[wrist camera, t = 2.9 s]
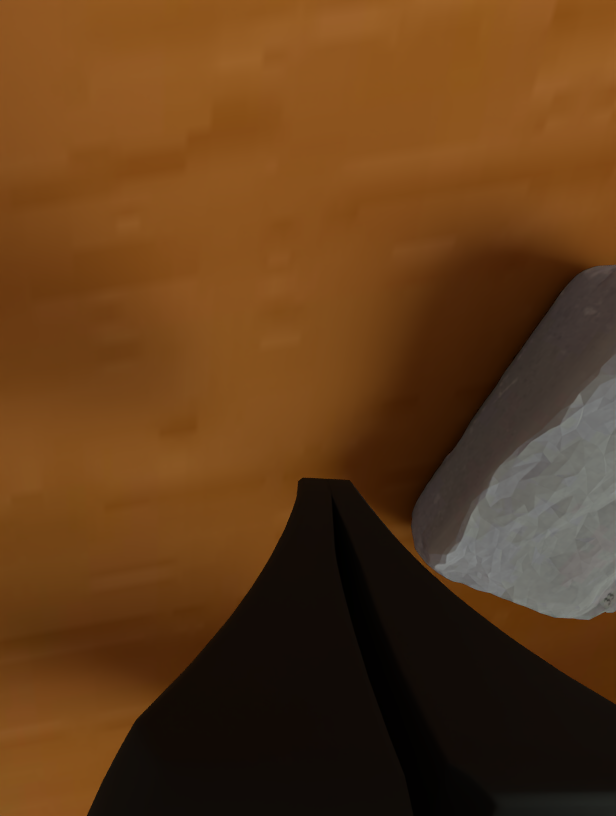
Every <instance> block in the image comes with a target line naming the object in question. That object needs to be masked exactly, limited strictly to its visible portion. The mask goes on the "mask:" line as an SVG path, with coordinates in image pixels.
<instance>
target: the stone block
mask: <svg viewBox="0 0 616 816" xmlns="http://www.w3.org/2000/svg"><path fill="white" fill-rule="evenodd" d="M411 528H412V534H413V540H414V545H415V549H416V551H417V552H418V554H419V555H420V556H421V557H422V559H423V560H424V561H425V562H426V563H427V564H428V565H429V566H430V567H431V568H433V569H434V570H435V571H436V572H438V573H439V574H441V575H442V576H444V577H445V578H447V579H449V580H452V581H454V582H459V583H463V584H466V585H468V586H470V587H472V588H474V589H476V590H480V591H484V592H488V593H492V594H494V595H496V596H498V597H501V598H504V599H506V600H509V601H512V602H514V603H517V604H519V605H522V606H525V607H528V608H530V609H532V610H535V611H537V612H539V613H542V614H545V615H549V616H552V617H555V618H558V617H559V618H575V619H586V620H590V619H591V618H593V617H595V616H597V615H599V614H601V613H603V612H608V613H613V612H615V611H616V265H607V266H595V267H592V268H589V269H586V270H584V271H582V272H581V273H579V274H577V275H576V276H575V278H574V279H573V280H572V281H571V282H570V283H569V284H568V285H567V286H566V287H565V288H564V290H563V291H562V292H561V293H560V295H559V296H558V298H557V299H556V301H555V302H554V303H553V305H552V306H551V308H550V309H549V311H548V312H547V313H546V315H545V316H544V318H543V319H542V320H541V322H540V323H539V325H538V326H537V327H536V329H535V330H534V331H533V333H532V334H531V336H530V337H529V339H528V340H527V341H526V343H525V344H524V346H523V347H522V349H521V350H520V351H519V353H518V354H517V356H516V357H515V359H514V360H513V361H512V363H511V364H510V365H509V367H508V368H507V370H506V371H505V372H504V374H503V375H502V377H501V379H500V380H499V382H498V384H497V386H496V387H495V388H494V390H493V391H492V392H491V394H490V395H489V396H488V398H487V399H486V400H485V402H484V403H483V405H482V406H481V408H480V409H479V411H478V412H477V413H476V415H475V416H474V417H473V419H472V420H471V422H470V423H469V425H468V427H467V429H466V431H465V432H464V434H463V436H462V438H461V439H460V441H459V442H458V444H457V445H456V447H455V448H454V449H453V450H452V452H451V453H450V454H448V455H447V456H446V458H445V459H444V461H443V462H442V464H441V466H440V467H439V468H438V469H437V471H436V472H435V474H434V475H433V477H432V478H431V480H430V481H429V482H428V484H427V485H426V487H425V489H424V491H423V492H422V494H421V495H420V497H419V498H418V500H417V502H416V504H415V506H414V509H413V512H412V524H411Z"/></svg>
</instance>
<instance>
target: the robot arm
mask: <svg viewBox="0 0 616 816" xmlns="http://www.w3.org/2000/svg"><path fill="white" fill-rule="evenodd" d="M87 816H616V704H614V703H612V702H611V701H609V700H607V699H606V698H604V697H602V696H601V695H599V694H597V693H596V692H594V691H592V690H591V689H589V688H587V687H586V686H584V685H582V684H581V683H579V682H577V681H576V680H574V679H572V678H570V677H569V676H567V675H566V674H564V673H563V672H561V671H560V670H558V669H557V668H555V667H554V666H552V665H551V664H549V663H548V662H546V661H545V660H543V659H542V658H540V657H539V656H537V655H536V654H534V653H533V652H531V651H530V650H528V649H527V648H525V647H524V646H522V645H521V644H519V643H518V642H516V641H515V640H514V639H512V638H511V637H509V636H508V635H507V634H505V633H504V632H502V631H501V630H500V629H498V628H497V627H496V626H494V625H493V624H492V623H490V622H489V621H488V620H487V619H485V618H484V617H483V616H481V615H480V614H479V613H477V612H476V611H475V610H474V609H472V608H471V607H470V606H468V605H467V604H466V603H465V602H463V601H462V600H461V599H460V598H459V597H457V596H456V595H455V594H454V593H453V592H451V591H450V590H449V589H448V588H447V587H446V586H445V585H444V584H442V583H441V582H440V581H439V580H438V579H437V578H436V577H435V576H433V575H432V574H431V573H430V572H429V571H428V570H427V569H426V568H425V567H424V566H423V565H422V564H421V563H420V562H419V561H418V560H417V559H416V558H415V557H414V556H413V555H412V554H411V553H410V552H409V551H408V550H407V549H406V548H405V547H404V546H403V545H402V544H401V543H400V542H399V541H398V539H397V538H396V537H395V536H394V535H393V534H392V533H391V531H390V530H389V529H388V528H387V527H386V526H385V524H384V523H383V522H382V521H381V520H380V519H379V517H378V516H377V515H376V514H375V512H374V511H373V510H372V509H371V507H370V506H369V505H368V504H367V502H366V501H365V500H364V498H363V497H362V496H361V494H360V493H359V492H358V490H357V489H356V488H355V487H354V485H353V484H352V483H351V482H350V480H337V479H318V478H302V479H301V480H299V481H298V489H297V497H296V501H295V504H294V507H293V510H292V512H291V515H290V517H289V520H288V522H287V525H286V527H285V529H284V532H283V534H282V536H281V538H280V539H279V541H278V543H277V545H276V547H275V549H274V551H273V553H272V555H271V557H270V558H269V560H268V562H267V564H266V565H265V567H264V569H263V570H262V572H261V573H260V575H259V577H258V578H257V580H256V581H255V583H254V584H253V586H252V587H251V589H250V590H249V592H248V593H247V594H246V596H245V597H244V599H243V600H242V601H241V603H240V604H239V606H238V607H237V608H236V610H235V611H234V612H233V614H232V615H231V616H230V618H229V619H228V620H227V621H226V623H225V624H224V625H223V626H222V628H221V629H220V630H219V631H218V632H217V633H216V635H215V636H214V637H213V638H212V639H211V641H210V642H209V643H208V644H207V645H206V646H205V648H204V649H203V650H202V651H201V652H200V653H199V655H198V656H197V657H196V658H195V659H194V660H193V662H192V663H191V664H190V665H189V666H188V667H187V668H186V669H185V670H184V671H183V672H182V673H181V674H180V676H179V677H178V678H177V679H176V680H175V681H174V682H173V683H172V684H171V685H170V686H169V687H168V688H167V689H166V690H165V691H164V692H163V693H162V694H161V695H160V696H159V697H158V698H157V699H156V700H155V701H154V702H153V703H152V704H151V705H150V706H149V707H148V708H147V709H146V710H145V711H144V712H143V713H142V714H141V715H140V716H139V717H138V719H137V720H136V721H135V723H134V724H133V726H132V728H131V730H130V731H129V733H128V735H127V737H126V738H125V740H124V742H123V744H122V746H121V747H120V749H119V751H118V753H117V755H116V756H115V758H114V760H113V762H112V764H111V766H110V768H109V770H108V772H107V774H106V776H105V778H104V780H103V782H102V784H101V786H100V788H99V790H98V792H97V795H96V797H95V799H94V801H93V803H92V806H91V808H90V810H89V812H88V815H87Z"/></svg>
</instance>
